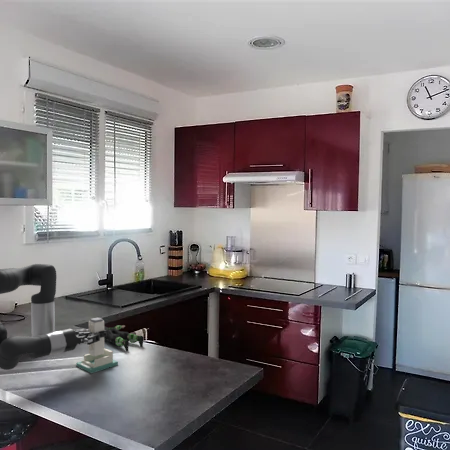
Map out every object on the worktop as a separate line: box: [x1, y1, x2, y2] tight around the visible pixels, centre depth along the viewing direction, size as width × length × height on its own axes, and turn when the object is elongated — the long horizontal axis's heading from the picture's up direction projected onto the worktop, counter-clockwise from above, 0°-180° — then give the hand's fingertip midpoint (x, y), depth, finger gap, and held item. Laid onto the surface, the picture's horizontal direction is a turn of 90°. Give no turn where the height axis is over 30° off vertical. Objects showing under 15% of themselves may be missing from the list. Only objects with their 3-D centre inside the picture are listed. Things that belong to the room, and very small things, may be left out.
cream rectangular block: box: [88, 317, 105, 356], centre depth 162 cm, size 4×5×13 cm
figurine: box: [104, 324, 144, 352], centre depth 192 cm, size 26×6×30 cm
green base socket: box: [75, 347, 119, 374], centre depth 163 cm, size 10×11×5 cm
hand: (103, 331), depth 165 cm, fingers closed on cream rectangular block, 4 cm apart
